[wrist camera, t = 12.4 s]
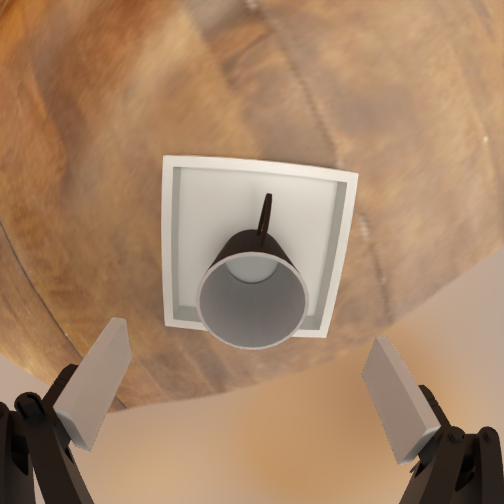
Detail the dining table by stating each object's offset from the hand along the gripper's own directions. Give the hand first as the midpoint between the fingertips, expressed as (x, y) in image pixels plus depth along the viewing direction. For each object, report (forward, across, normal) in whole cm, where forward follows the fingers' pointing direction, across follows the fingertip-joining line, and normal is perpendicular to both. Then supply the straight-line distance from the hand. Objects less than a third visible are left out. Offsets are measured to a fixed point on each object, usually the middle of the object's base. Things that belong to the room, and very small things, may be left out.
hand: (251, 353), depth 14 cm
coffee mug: (+18, +1, 0) cm, 18 cm away
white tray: (+19, 0, 0) cm, 19 cm away
